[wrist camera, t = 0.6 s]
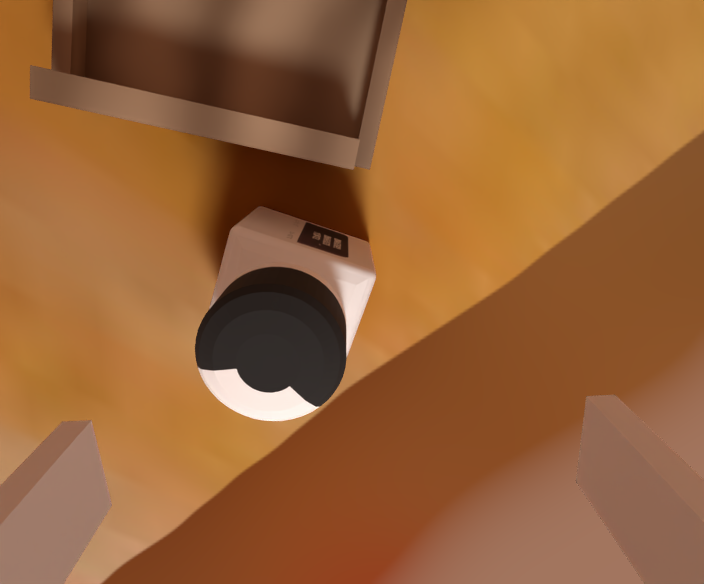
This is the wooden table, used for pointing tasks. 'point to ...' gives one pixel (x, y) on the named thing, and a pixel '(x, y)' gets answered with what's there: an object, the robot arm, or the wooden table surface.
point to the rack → (231, 69)
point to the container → (283, 315)
